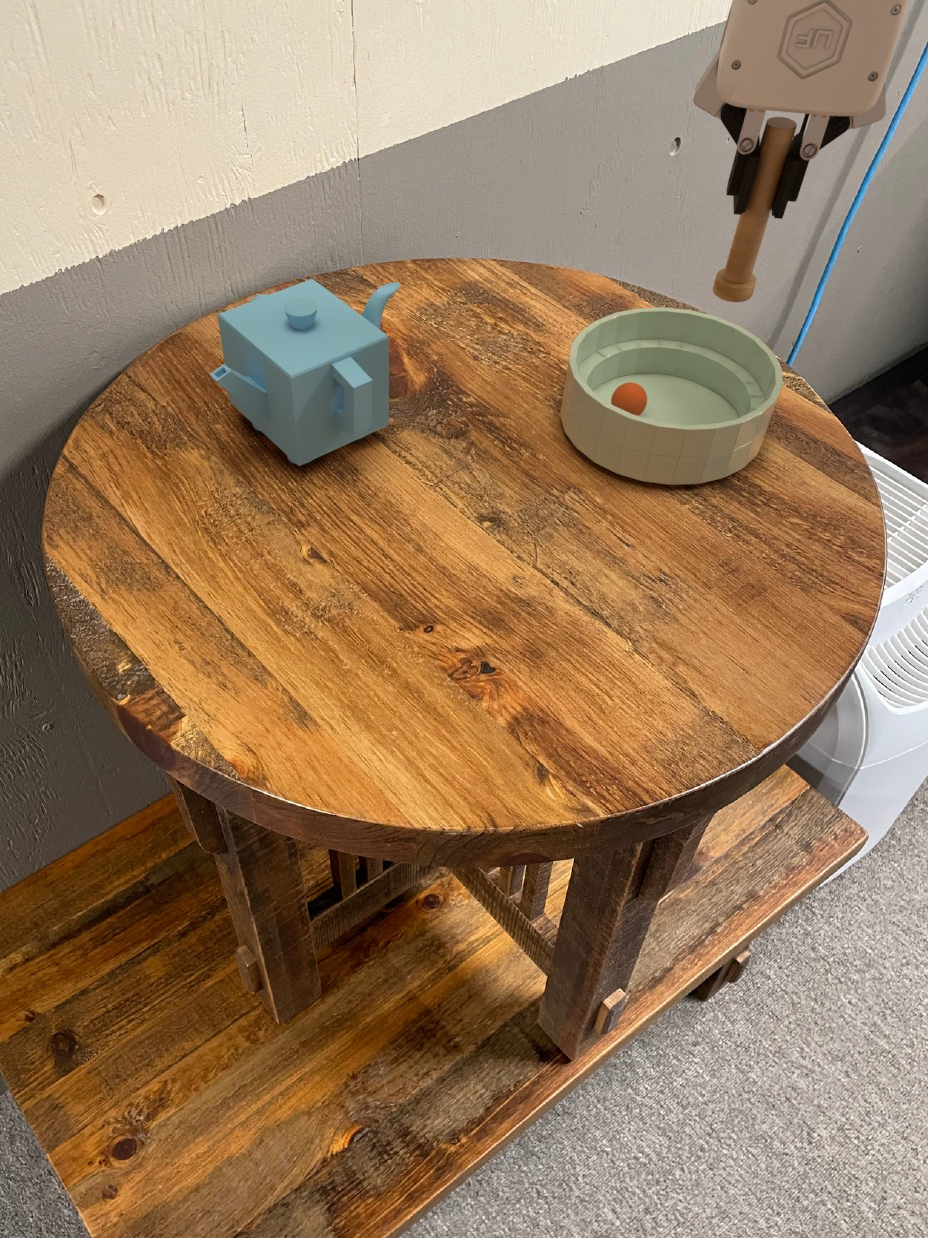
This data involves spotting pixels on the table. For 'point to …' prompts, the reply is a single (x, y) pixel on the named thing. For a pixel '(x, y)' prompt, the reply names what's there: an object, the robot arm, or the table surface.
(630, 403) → the ball
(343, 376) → the teapot
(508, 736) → the table surface
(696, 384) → the bowl
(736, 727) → the table surface
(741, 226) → the rod
